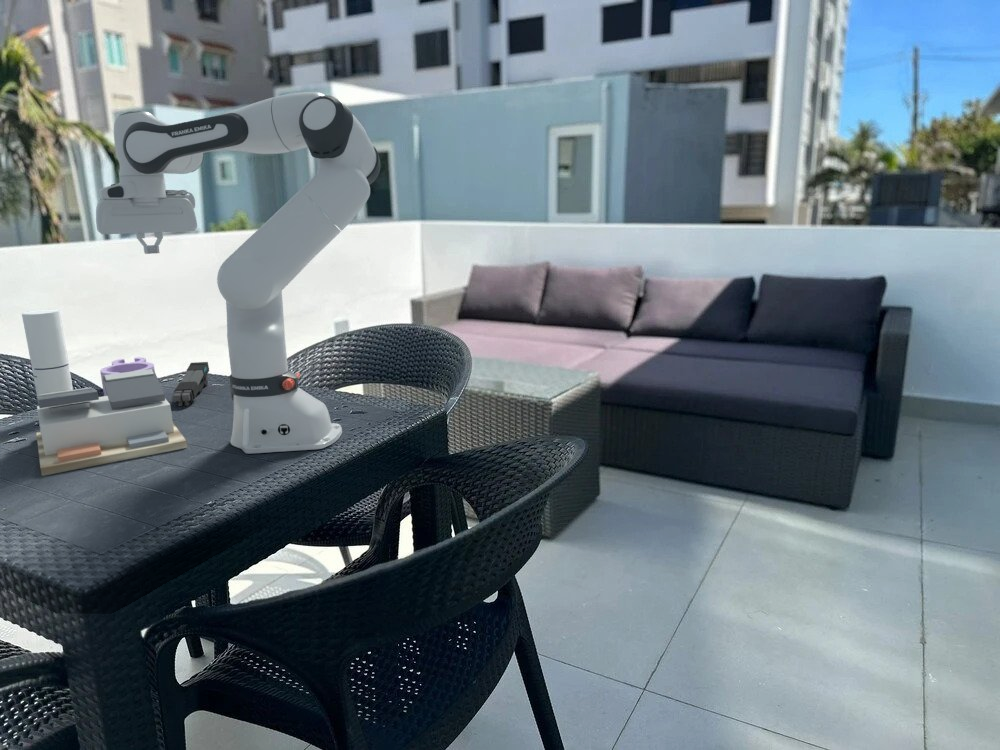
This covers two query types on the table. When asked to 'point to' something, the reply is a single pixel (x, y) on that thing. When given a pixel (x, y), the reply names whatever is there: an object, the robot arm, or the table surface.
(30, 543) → the table surface
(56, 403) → the left rocker
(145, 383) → the right rocker
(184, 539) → the table surface
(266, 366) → the robot arm
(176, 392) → the gun
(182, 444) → the switch unit
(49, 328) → the cylindrical container
